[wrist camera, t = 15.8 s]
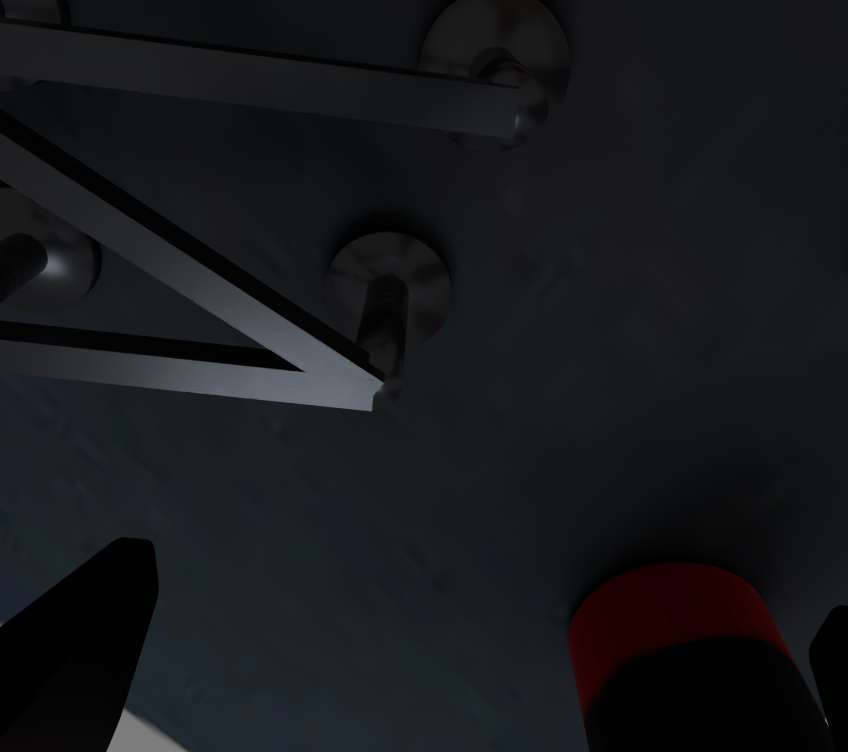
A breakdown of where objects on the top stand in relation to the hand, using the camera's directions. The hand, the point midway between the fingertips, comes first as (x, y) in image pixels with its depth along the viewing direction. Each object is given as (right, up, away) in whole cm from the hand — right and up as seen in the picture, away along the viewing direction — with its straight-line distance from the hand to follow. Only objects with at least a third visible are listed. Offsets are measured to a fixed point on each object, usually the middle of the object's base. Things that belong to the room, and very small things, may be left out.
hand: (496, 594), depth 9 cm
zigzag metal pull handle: (-6, +8, +9) cm, 14 cm away
